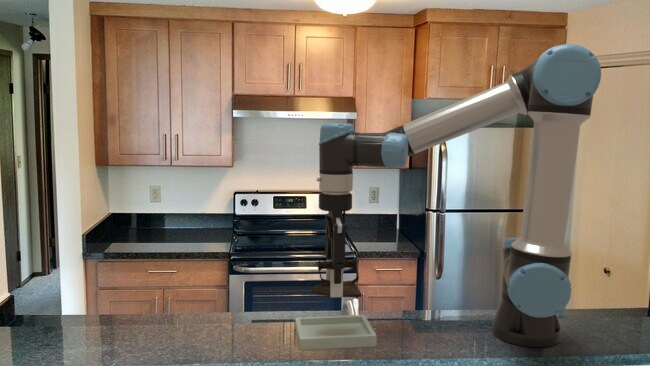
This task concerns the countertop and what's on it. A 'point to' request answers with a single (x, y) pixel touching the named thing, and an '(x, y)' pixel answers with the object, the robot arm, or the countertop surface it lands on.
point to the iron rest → (334, 332)
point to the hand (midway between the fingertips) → (334, 291)
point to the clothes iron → (348, 286)
